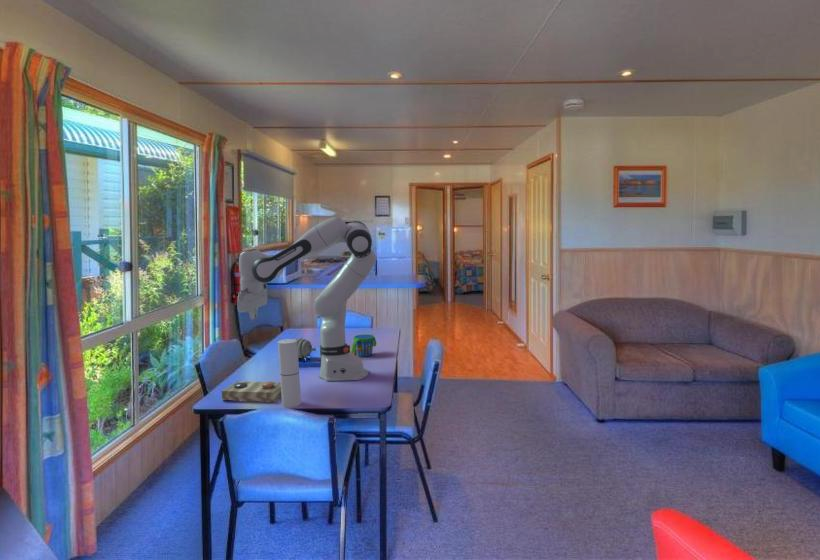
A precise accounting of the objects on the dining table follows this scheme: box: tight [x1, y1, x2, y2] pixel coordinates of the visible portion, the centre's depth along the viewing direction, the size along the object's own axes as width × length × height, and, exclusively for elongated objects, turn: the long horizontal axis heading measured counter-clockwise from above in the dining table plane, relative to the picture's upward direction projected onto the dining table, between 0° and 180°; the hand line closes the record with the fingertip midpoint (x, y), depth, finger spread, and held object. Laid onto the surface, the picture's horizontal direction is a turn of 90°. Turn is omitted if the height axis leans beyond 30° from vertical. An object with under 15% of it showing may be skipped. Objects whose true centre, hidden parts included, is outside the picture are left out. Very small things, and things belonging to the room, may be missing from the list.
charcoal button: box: [234, 383, 247, 388], centre depth 208 cm, size 5×5×4 cm
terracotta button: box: [262, 381, 275, 389], centre depth 206 cm, size 5×5×4 cm
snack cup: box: [351, 333, 377, 358], centre depth 263 cm, size 16×10×10 cm
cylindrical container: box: [277, 338, 302, 408], centre depth 196 cm, size 7×7×25 cm
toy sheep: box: [295, 338, 317, 359], centre depth 259 cm, size 11×17×11 cm, turn 76°
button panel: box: [221, 380, 282, 403], centre depth 207 cm, size 22×12×4 cm, turn 79°
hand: (253, 318), depth 220 cm, fingers closed
